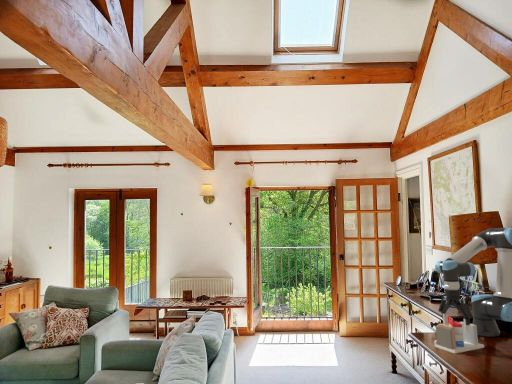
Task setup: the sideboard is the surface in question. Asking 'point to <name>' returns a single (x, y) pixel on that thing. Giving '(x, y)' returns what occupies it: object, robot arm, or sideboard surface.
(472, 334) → the bookend
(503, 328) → the sideboard surface
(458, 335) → the ink box
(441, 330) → the rack
